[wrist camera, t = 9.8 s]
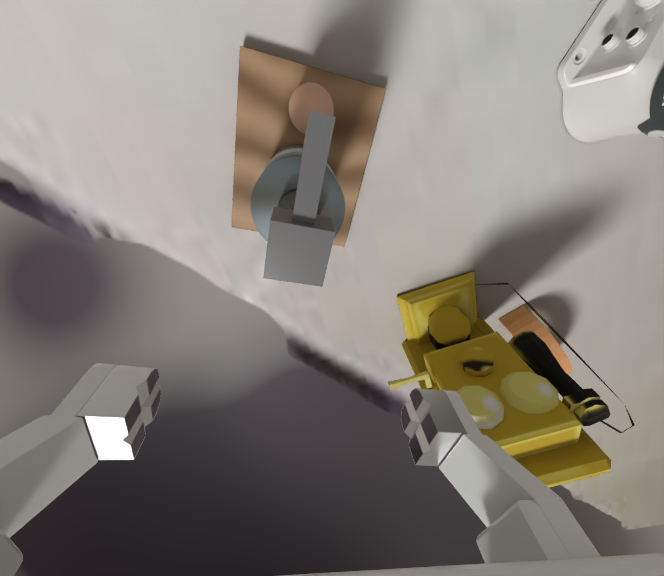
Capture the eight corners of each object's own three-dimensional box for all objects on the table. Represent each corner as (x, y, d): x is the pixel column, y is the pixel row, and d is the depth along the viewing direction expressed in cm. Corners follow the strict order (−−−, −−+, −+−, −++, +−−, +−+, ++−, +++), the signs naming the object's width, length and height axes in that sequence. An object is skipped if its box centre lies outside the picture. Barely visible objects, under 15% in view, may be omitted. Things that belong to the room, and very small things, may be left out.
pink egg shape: (293, 82, 35) (292, 76, 30) (332, 93, 36) (338, 89, 31) (287, 127, 37) (285, 129, 32) (324, 137, 38) (328, 140, 33)
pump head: (289, 107, 21) (283, 102, 14) (341, 121, 21) (361, 123, 15) (273, 235, 26) (263, 278, 19) (316, 242, 26) (322, 286, 19)
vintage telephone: (522, 253, 53) (731, 382, 27) (520, 309, 60) (683, 453, 34) (362, 306, 55) (416, 468, 30) (378, 354, 63) (433, 517, 37)
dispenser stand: (242, 48, 34) (186, -18, 17) (382, 89, 37) (449, 68, 21) (233, 223, 44) (193, 287, 28) (343, 243, 48) (365, 309, 31)
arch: (523, 304, 59) (561, 335, 51) (546, 355, 69) (580, 389, 60) (497, 318, 61) (530, 351, 52) (523, 367, 70) (553, 401, 62)
